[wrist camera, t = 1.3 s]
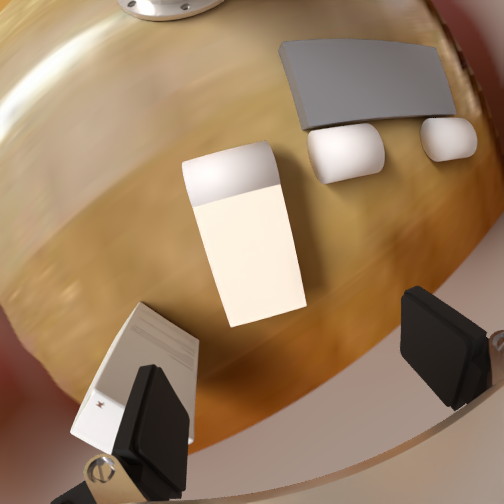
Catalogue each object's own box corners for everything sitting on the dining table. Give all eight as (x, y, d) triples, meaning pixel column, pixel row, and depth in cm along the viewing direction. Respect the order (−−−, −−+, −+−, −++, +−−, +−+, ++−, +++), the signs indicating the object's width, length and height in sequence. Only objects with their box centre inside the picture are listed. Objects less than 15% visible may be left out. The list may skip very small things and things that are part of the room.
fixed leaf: (278, 50, 20) (289, 29, 16) (425, 52, 21) (448, 42, 16) (315, 183, 24) (334, 185, 20) (453, 156, 24) (480, 157, 20)
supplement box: (109, 346, 26) (65, 431, 14) (140, 298, 25) (92, 387, 13) (165, 381, 28) (148, 475, 16) (202, 340, 27) (196, 442, 15)
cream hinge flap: (186, 163, 22) (178, 160, 18) (260, 143, 22) (269, 136, 18) (229, 305, 26) (231, 329, 22) (294, 287, 26) (308, 308, 22)
